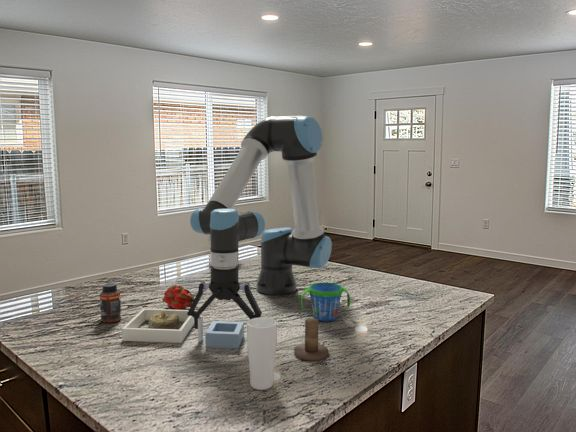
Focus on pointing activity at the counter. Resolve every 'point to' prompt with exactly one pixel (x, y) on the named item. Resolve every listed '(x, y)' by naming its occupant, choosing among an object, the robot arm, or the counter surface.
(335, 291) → the snack cup
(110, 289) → the supplement bottle
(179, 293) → the dragon fruit
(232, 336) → the collar
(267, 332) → the drinking glass
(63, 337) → the counter surface
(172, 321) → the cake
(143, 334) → the cream rectangular open frame
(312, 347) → the post
